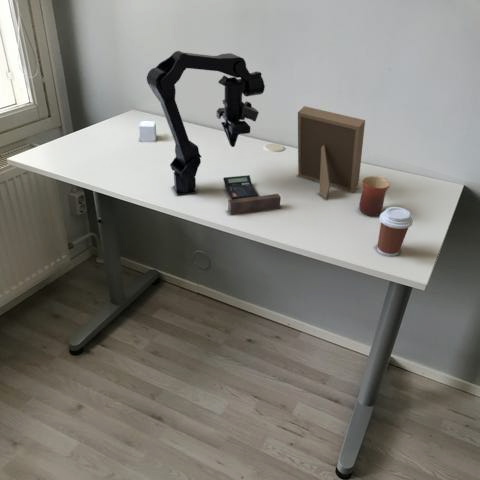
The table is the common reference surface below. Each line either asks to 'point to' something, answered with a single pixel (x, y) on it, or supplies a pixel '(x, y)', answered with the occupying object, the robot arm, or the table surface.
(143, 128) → the white cube
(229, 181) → the calculator
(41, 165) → the table surface
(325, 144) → the photo frame
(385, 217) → the coffee cup
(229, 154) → the table surface
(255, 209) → the rail
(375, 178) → the mug
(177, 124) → the robot arm
